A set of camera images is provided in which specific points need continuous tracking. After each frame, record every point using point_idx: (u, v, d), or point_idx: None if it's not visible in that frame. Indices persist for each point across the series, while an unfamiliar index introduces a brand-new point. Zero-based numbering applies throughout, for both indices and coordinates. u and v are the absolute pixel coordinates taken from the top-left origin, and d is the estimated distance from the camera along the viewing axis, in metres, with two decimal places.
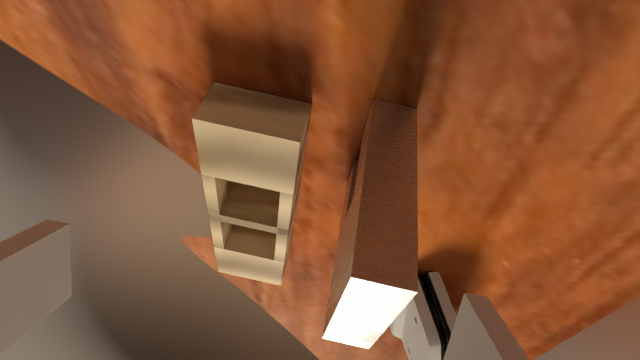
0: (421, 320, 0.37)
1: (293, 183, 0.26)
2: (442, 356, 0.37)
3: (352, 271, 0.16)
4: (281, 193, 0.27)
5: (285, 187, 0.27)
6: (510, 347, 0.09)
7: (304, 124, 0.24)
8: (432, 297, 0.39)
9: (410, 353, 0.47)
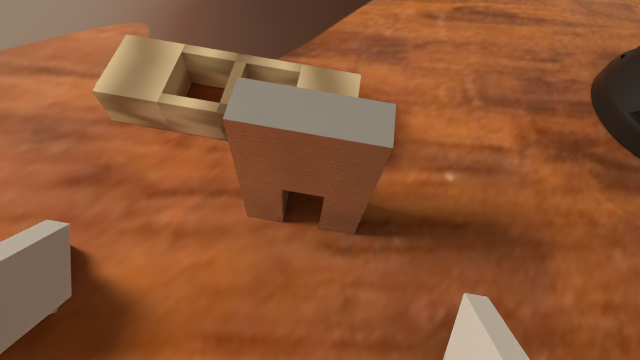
0: None
1: None
2: None
3: None
4: None
5: None
6: (510, 347, 0.09)
7: None
8: None
9: None
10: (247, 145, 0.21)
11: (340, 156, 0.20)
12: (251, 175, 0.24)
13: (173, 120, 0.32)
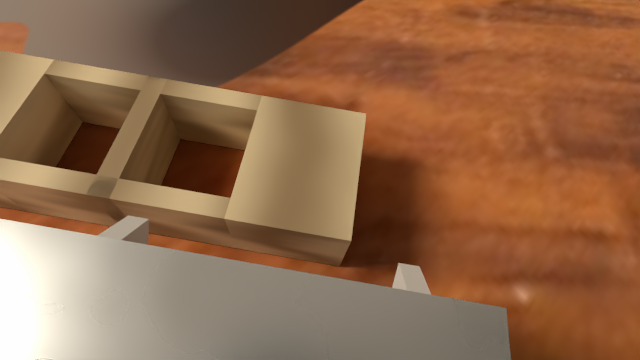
0: None
1: (255, 222, 0.16)
2: None
3: None
4: (226, 199, 0.16)
5: (243, 207, 0.16)
6: None
7: (345, 251, 0.17)
8: None
9: None
10: None
11: None
12: None
13: (22, 200, 0.18)
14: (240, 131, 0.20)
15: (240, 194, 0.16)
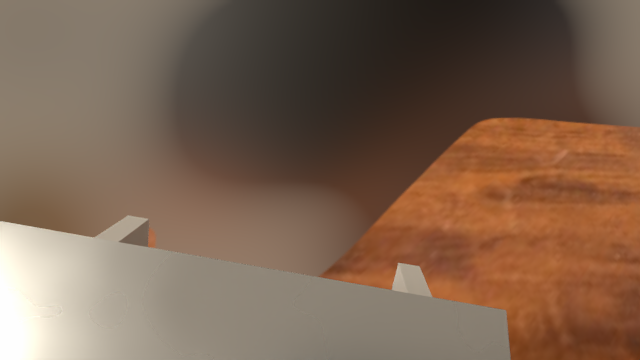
0: None
1: None
2: None
3: None
4: None
5: None
6: None
7: None
8: None
9: None
10: None
11: None
12: None
13: None
14: None
15: None
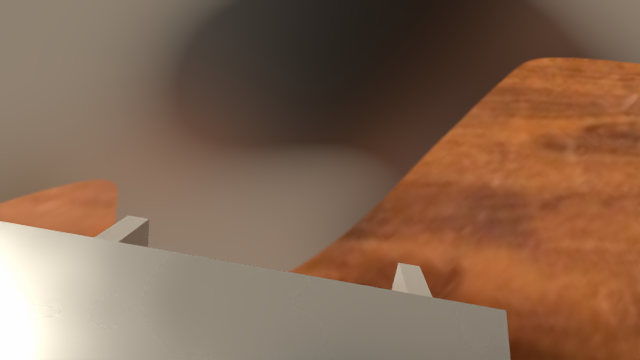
0: None
1: None
2: None
3: None
4: None
5: None
6: None
7: None
8: None
9: None
10: None
11: None
12: None
13: None
14: None
15: None
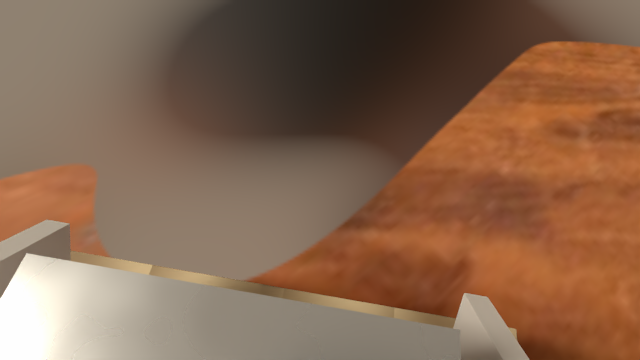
0: None
1: None
2: None
3: None
4: None
5: None
6: (510, 347, 0.09)
7: None
8: None
9: None
10: None
11: None
12: None
13: None
14: None
15: None
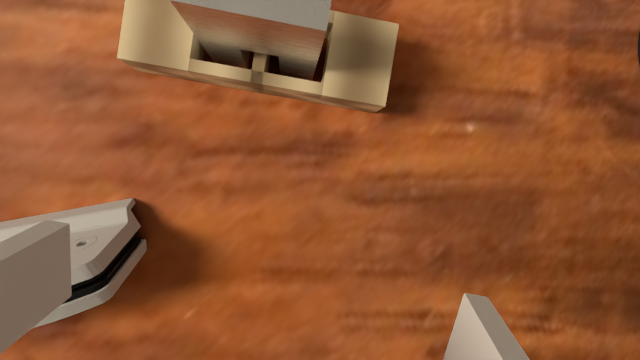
0: (107, 244, 0.28)
1: (337, 96, 0.31)
2: None
3: None
4: (321, 84, 0.30)
5: (330, 88, 0.30)
6: (510, 347, 0.09)
7: (380, 108, 0.33)
8: (124, 251, 0.31)
9: None
10: (198, 18, 0.23)
11: (282, 32, 0.23)
12: (209, 38, 0.26)
13: (203, 78, 0.32)
14: None
15: (328, 80, 0.30)
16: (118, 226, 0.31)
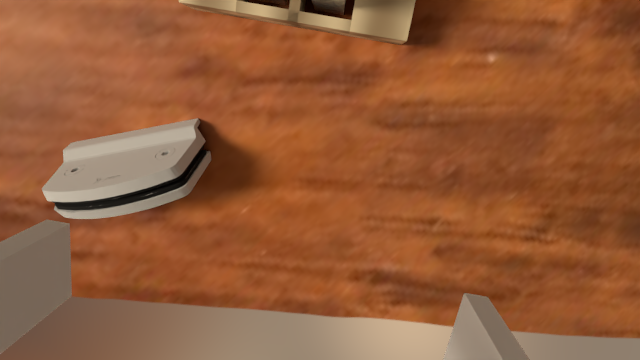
0: (183, 154, 0.37)
1: (363, 32, 0.35)
2: (154, 186, 0.36)
3: None
4: (349, 21, 0.34)
5: (357, 25, 0.34)
6: (510, 347, 0.09)
7: (403, 42, 0.36)
8: (195, 160, 0.40)
9: (76, 171, 0.39)
10: None
11: None
12: None
13: (249, 16, 0.37)
14: None
15: (356, 17, 0.34)
16: (189, 140, 0.40)
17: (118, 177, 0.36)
